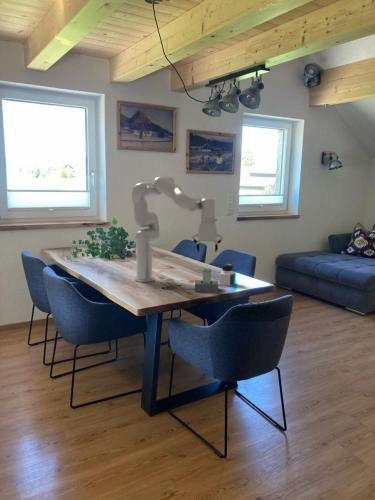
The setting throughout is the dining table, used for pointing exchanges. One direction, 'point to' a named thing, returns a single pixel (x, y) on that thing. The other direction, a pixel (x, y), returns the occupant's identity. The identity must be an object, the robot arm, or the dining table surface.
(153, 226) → the robot arm
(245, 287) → the dining table surface
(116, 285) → the dining table surface
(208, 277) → the plug
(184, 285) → the pad
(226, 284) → the medicine bottle
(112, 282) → the dining table surface
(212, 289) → the header
